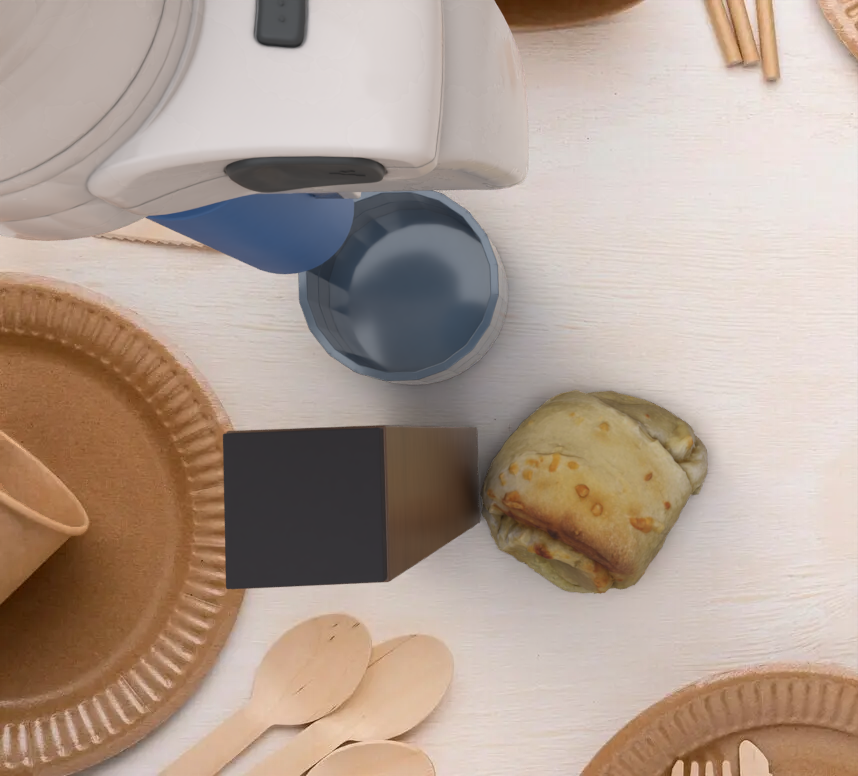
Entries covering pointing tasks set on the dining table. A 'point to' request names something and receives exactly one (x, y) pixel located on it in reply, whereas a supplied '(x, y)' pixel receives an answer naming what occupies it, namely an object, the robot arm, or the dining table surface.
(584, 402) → the pastry
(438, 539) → the pedestal
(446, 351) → the bowl
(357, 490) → the mat
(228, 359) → the dining table surface
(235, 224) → the bottle
